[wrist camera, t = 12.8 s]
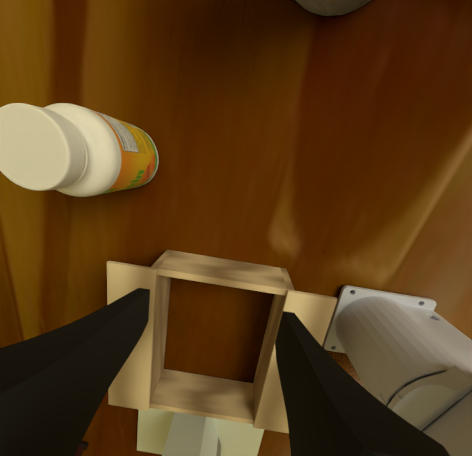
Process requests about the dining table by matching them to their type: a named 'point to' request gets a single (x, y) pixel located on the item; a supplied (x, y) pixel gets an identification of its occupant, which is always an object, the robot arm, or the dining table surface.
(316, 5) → the pillar candle
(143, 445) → the sage board
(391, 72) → the dining table surface
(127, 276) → the carton
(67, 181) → the supplement bottle
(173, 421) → the block
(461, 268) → the dining table surface
